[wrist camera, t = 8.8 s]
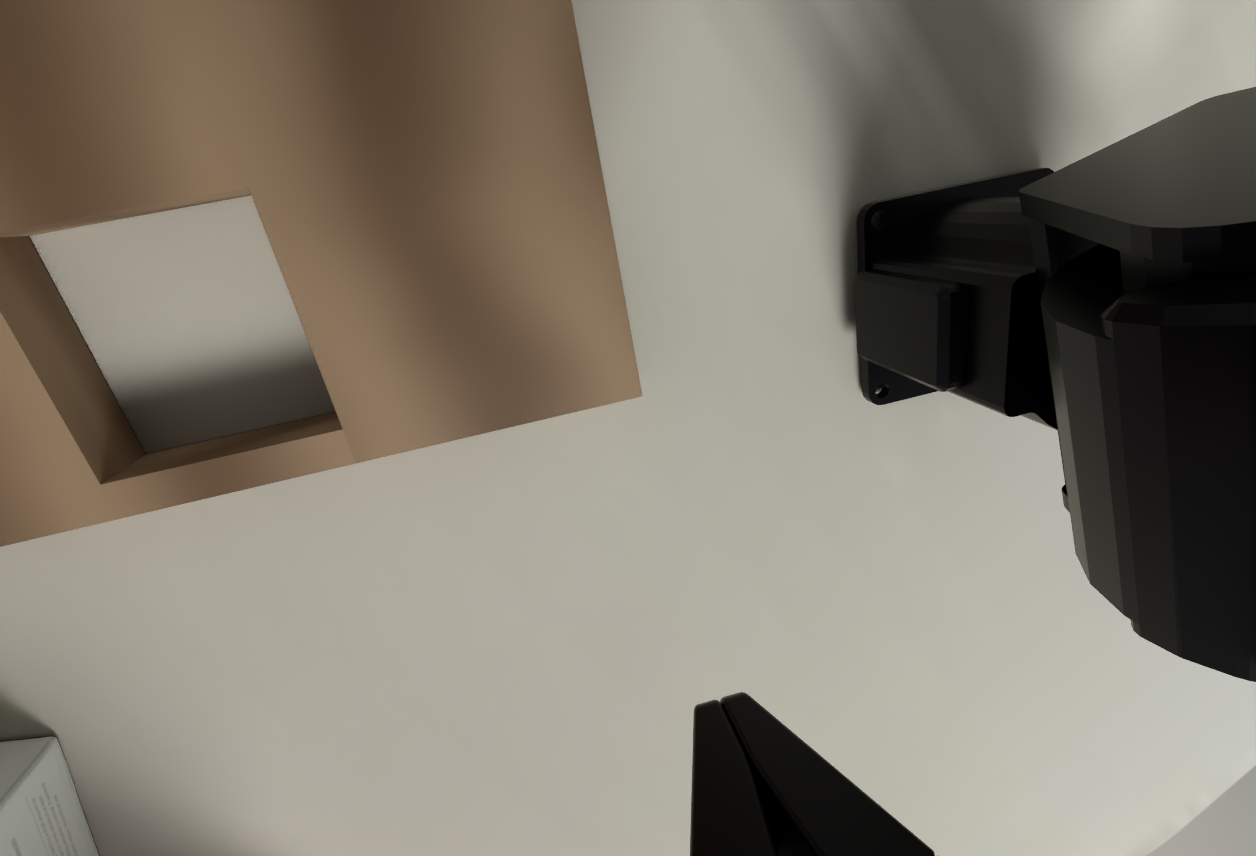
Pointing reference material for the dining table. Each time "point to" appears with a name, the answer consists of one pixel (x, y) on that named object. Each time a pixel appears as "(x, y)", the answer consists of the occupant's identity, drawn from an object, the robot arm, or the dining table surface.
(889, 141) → the dining table surface
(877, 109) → the dining table surface
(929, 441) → the dining table surface
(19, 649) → the dining table surface
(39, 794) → the small box
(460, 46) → the trap board
